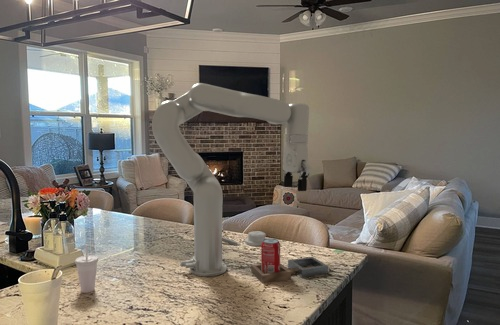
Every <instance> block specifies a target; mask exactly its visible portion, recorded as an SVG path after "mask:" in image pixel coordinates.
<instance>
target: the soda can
mask: <svg viewBox="0 0 500 325" xmlns="http://www.w3.org/2000/svg"><path fill="white" fill-rule="evenodd" d="M260 247H261V249H260V251H261V252H260V253H261V257H260V258H261V259H260V264H261V271H262V272H263V273H264V274H267V273H274V272H280V264H281V243H280V241H279V239H277V238H273V237H272V238H271V237H270V238H267V239H264V240H263V242H262V244H261V246H260Z"/></svg>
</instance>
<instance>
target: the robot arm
mask: <svg viewBox="0 0 500 325" xmlns="http://www.w3.org/2000/svg"><path fill="white" fill-rule="evenodd" d="M204 111H208V112H213V113H218V114H220V115H225V116H230V117H236V118H250V119H257V120H262V121H266V122H267V123H268V124H271V125H281V124H283V125H284V124H286V128H285V129H286V130H285V133H286V134H285V144H284V151H283V159H282V170H283V187H285V188H291V187H293V178H294V177H293V174H296V173H297V176H298V178H297V191H298V192H306V191H307V185H308V179H309V176H310V172H311V166H310V165H309V152H308V143H309V142H308V141H309V124H310V123H309V119H310V107H309V104H306V103H296V102H295V103H289V104H288V103H287V102H286V101H285V100H281V99H277V98H272V97H268V96H264V95H259V94H253V93H249V92H248V93H247V92H243V91H239V90H234V89H230V88H225V87H221V86H217V85H212V84H208V83H205V82H204V83H203V82H198V83H195V84H193V85H192V86H191V88H189V91H187V92H186V93H184V94H183V95H180V96H179V97H177V98H176V99H174V100H173V99H172V100H171V99H169V100H165V101H162V102H161V103H160V104H159V105H158V106H157V108H156V109H155V110H154V114H153V116H152V119H151V120H152V121H151V131H152V135H153V138H154V140H155V142H156V143H157V145H158V147H159V148H160V150H161V151H162V153H163V154H164V156H165V158H166V159H167V160H168V161H169V163H170V164H171V166H172V167H173V169H174V170H175V172H176V174H177V175H178V176H179V178H180V179H182V180H185V181H184V182H186V184H187V185H188V186H189V188H190V189H191V190H192V193H193V233H194V234H193V235H194V236H193V241H194V242H193V244H194V245H193V246H194V249H193V250H194V254H193V256H192V257H191V258H189V260H180V262H179V264H180V267H182V268H183V267H185V268H186V269H189V271H190V273H191V274H192V275H194V276H199V277H216V276H220V275H221V274H224V273H226V272H227V269H228V265H227V264H226V263H224V262H223V241H222V237H223V199H224V198H223V189H222V188H223V187H222V186H221V184H220V182H219V180H218V179H217V178H216V176H215V175H214V174H213V172H212V171H211V168H210V167H208V165H207V163H206V162H205V161H204V159H203V158H202V157H201V155H199V153H198V152H196V151H194V149H193V148H192V147H191V145H190V144H189V142H188V140H187V139H186V137H185V136H184V135H183V134H182V131H181V129H180V125H182V124H183V123H185V122H187V121H189V120H190V119H192V118H194V117H196V116H197V115H199V114H201V113H203V112H204Z"/></svg>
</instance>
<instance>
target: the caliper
mask: <svg viewBox="0 0 500 325" xmlns="http://www.w3.org/2000/svg"><path fill="white" fill-rule="evenodd" d="M223 242H224V243H227V244H229V245H233V246H238V247H239V246H241V244H240V243H238V241H235V240H232V239H230V238H227V237H223V236H222V243H223Z"/></svg>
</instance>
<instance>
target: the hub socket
mask: <svg viewBox="0 0 500 325" xmlns="http://www.w3.org/2000/svg"><path fill="white" fill-rule="evenodd" d="M306 266H307V267H306ZM308 266H309V267H308ZM310 266H311V267H310ZM287 267H288V268H287ZM287 267H286V268H287V269H288V270H290V271H291V275H296V274H297V275H298V276H299V277H301V278H308V277H314V276H320V275H327V274H328V273H329V266H328V265H327V264H326V263H324V262H323V261H321V260H319V259H317V258H316V257H314V256H309V257H301V258H300V257H299V258H295V259H294V258H293V259H288V260H287Z"/></svg>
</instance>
